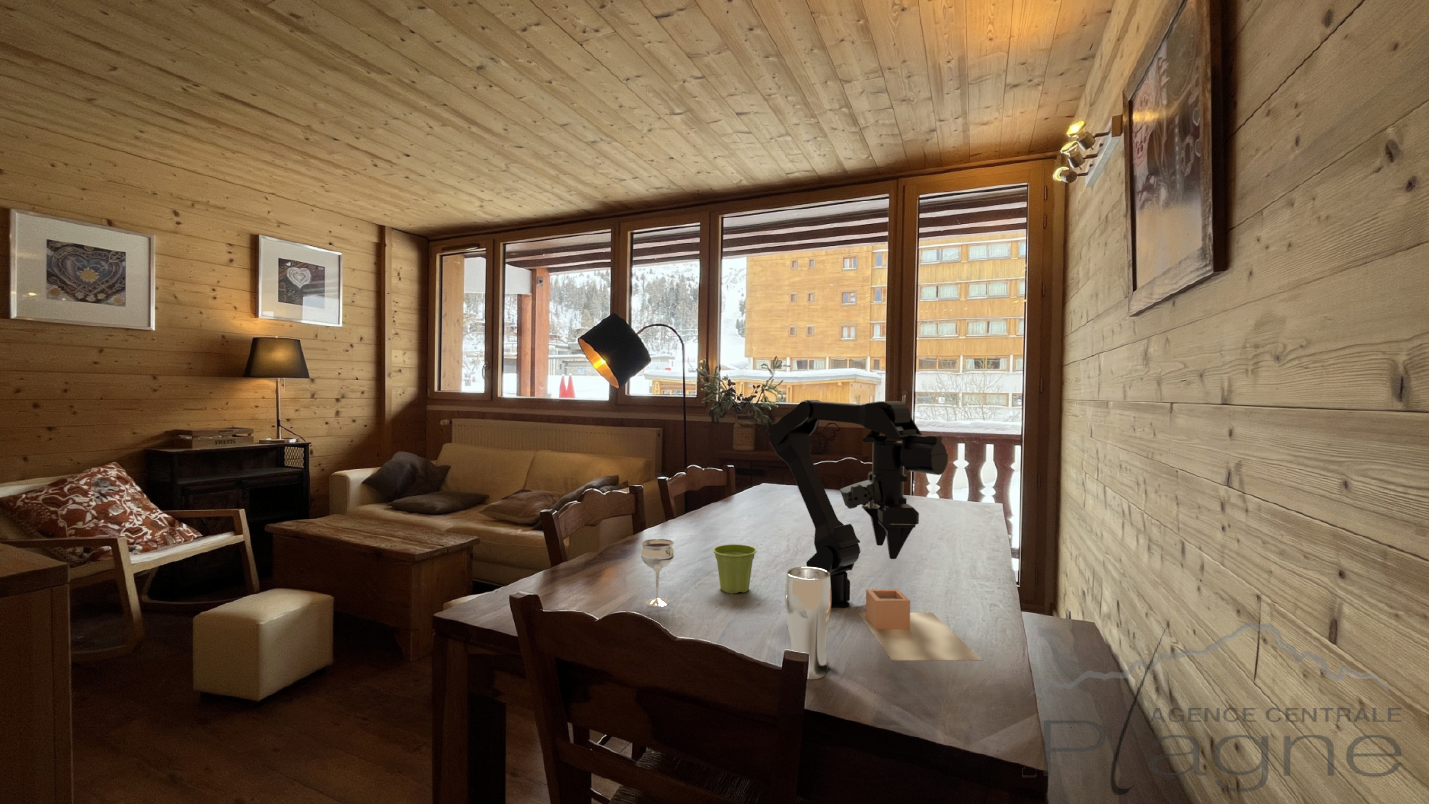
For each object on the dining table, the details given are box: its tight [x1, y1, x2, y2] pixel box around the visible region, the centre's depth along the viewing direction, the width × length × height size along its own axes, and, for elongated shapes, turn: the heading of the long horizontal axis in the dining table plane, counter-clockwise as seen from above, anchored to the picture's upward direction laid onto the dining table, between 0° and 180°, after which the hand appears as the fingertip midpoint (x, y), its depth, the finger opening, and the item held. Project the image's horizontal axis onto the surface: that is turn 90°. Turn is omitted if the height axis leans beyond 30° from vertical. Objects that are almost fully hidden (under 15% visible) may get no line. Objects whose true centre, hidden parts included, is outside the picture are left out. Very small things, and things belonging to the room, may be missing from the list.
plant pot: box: [712, 543, 757, 594], centre depth 130 cm, size 9×9×9 cm
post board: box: [858, 598, 983, 662], centre depth 103 cm, size 14×20×6 cm
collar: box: [865, 588, 911, 629], centre depth 108 cm, size 6×6×5 cm
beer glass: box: [784, 566, 832, 680], centre depth 92 cm, size 7×7×15 cm
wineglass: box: [640, 538, 675, 608], centre depth 122 cm, size 7×7×12 cm
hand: (885, 551), depth 113 cm, fingers open, 9 cm apart
